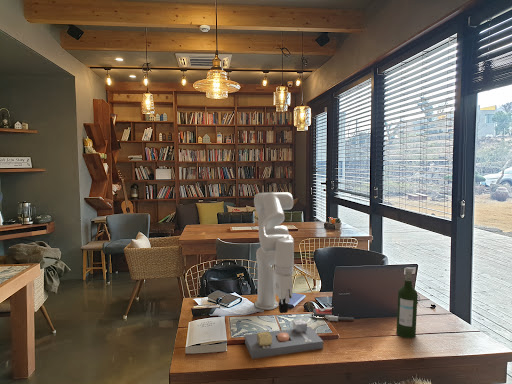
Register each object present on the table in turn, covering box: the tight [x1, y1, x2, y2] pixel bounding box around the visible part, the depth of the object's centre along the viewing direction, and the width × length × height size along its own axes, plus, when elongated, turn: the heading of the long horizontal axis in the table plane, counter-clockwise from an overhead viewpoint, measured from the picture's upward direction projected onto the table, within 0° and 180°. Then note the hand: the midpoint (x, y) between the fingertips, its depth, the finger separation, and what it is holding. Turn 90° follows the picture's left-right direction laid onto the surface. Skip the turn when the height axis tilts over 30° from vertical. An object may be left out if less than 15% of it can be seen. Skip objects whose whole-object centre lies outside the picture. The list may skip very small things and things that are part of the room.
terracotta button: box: [277, 333, 289, 342], centre depth 143 cm, size 5×5×3 cm
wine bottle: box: [396, 266, 419, 339], centre depth 152 cm, size 8×8×30 cm
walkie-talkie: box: [311, 306, 355, 322], centre depth 169 cm, size 9×4×20 cm
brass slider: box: [256, 330, 272, 346], centre depth 138 cm, size 4×5×4 cm
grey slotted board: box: [243, 326, 324, 360], centre depth 143 cm, size 13×30×3 cm, turn 105°
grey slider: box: [292, 318, 308, 333], centre depth 149 cm, size 4×5×4 cm
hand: (283, 311), depth 143 cm, fingers closed
